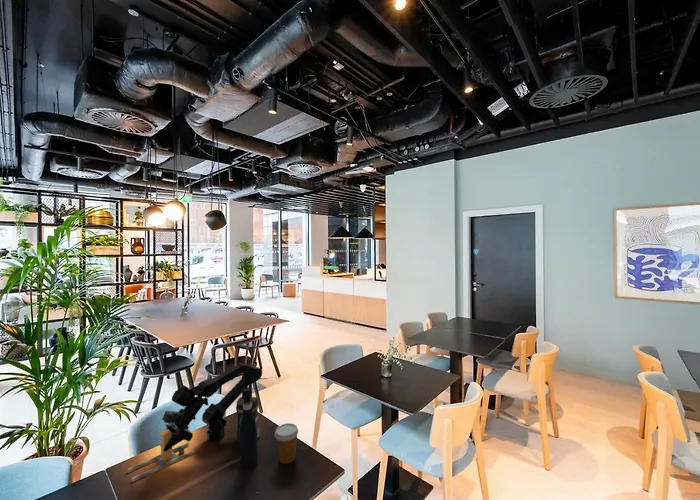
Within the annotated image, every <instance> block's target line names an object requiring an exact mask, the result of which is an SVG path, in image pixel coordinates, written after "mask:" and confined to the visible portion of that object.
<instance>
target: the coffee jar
mask: <svg viewBox="0 0 700 500" xmlns="http://www.w3.org/2000/svg"><path fill="white" fill-rule="evenodd" d="M237 399H238V400H237V402H236V404H235V405H236V407H235V411H236V414H237V430H236V431H237V432H236V441H237V442H238V443H240V425H241V421H242V417H243V404H244V399H242V396H239V397H238V398H237ZM251 404H252V409H253V416H254V418H255V421H256V426H257V440H258V438H259V437H260V424H259V417H258V415H259V414H258V413H259V411H258V410H259V407H260V405H259V404H260V403H259V398H258V396H252V397H251Z"/></svg>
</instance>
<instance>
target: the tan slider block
mask: <svg viewBox="0 0 700 500" xmlns="http://www.w3.org/2000/svg"><path fill="white" fill-rule="evenodd" d="M159 435H160V445H161V446H160V455H161V456H159V457H157V458H156V462H157V464H158V466H159V465H161V464H163V463H166V462H168V461H170V460H172V459H174V458H176V457H178V455H177V454H176V452H173V450H172V449H173V447H172V448H170V449H169V450H167V451H166V452H165V451H163V450H164V448H165V446H166V445H167V443H168V441H169V440H170V438H171V436H172V433H171V432H170V430H169V429H168V430H164V431H160V434H159Z"/></svg>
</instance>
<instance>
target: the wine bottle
mask: <svg viewBox="0 0 700 500" xmlns="http://www.w3.org/2000/svg"><path fill="white" fill-rule="evenodd" d="M241 397H242V399H244V404H243V417H242V421H241V425H240V442H239V443H240V444H239V445H240V467H241V468H242V469H244V470H248V469H252V468H254V467H256V466H257V465H258V463H259V460H258V457H259V456H258V439H257V426H256V421H255V418H254V416H253V409H252V404H251V397H253V389H252V387H251V386H248V387H246V388H243V389H242V393H241Z"/></svg>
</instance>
